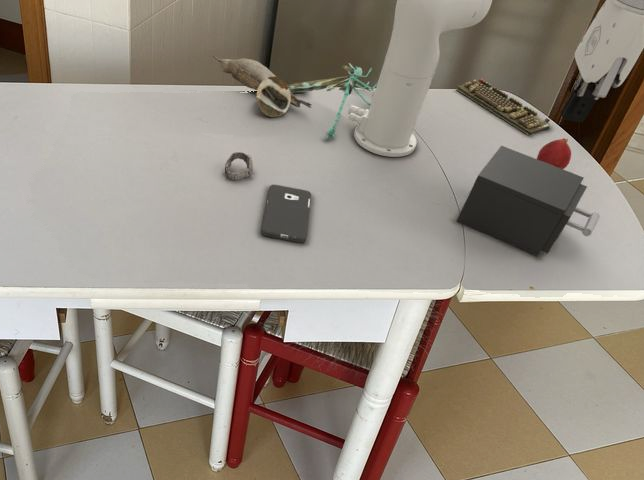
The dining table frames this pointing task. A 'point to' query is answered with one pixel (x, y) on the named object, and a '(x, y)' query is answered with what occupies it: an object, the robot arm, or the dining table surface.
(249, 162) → the wristwatch
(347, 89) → the insect sculpture
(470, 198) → the dark grey box
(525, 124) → the keyboard
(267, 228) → the cell phone
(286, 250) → the dining table surface
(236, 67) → the bird model
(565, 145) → the onion
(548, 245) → the drawer
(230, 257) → the dining table surface
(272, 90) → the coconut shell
